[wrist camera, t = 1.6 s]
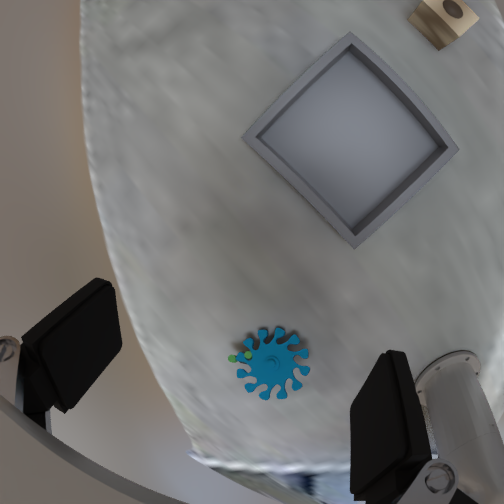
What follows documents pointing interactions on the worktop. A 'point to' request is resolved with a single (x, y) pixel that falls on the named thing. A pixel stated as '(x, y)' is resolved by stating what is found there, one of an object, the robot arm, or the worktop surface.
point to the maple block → (442, 20)
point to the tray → (352, 139)
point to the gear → (271, 363)
